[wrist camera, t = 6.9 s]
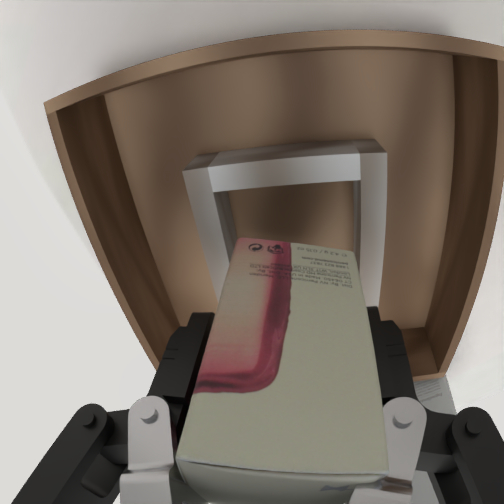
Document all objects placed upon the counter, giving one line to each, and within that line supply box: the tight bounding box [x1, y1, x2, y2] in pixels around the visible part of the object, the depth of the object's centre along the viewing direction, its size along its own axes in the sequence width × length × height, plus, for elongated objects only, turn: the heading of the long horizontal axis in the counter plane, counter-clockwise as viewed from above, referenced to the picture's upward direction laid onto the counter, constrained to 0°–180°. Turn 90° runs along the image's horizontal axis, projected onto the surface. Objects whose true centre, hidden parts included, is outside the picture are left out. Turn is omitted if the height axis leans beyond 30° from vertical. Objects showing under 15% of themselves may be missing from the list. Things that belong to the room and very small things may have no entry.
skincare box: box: [410, 375, 457, 504], centre depth 18 cm, size 8×6×15 cm
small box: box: [176, 238, 389, 504], centre depth 9 cm, size 5×4×8 cm
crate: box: [44, 30, 504, 382], centre depth 16 cm, size 19×19×5 cm
